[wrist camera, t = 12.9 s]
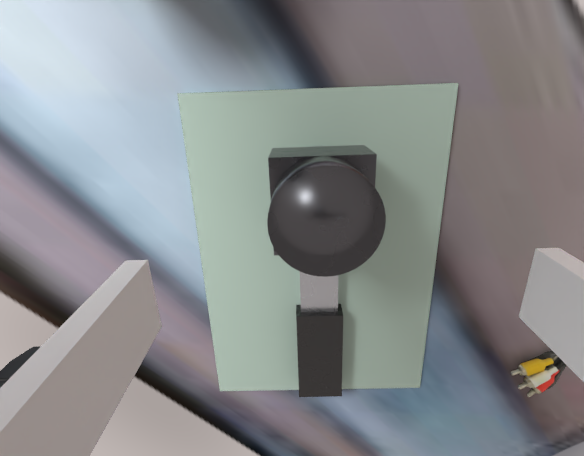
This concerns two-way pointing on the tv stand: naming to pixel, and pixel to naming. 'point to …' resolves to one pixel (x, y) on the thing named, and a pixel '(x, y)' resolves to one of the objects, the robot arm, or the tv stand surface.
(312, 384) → the ratchet
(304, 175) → the dark grey door knob
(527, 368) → the composite cable
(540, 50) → the tv stand surface
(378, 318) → the tool mat
